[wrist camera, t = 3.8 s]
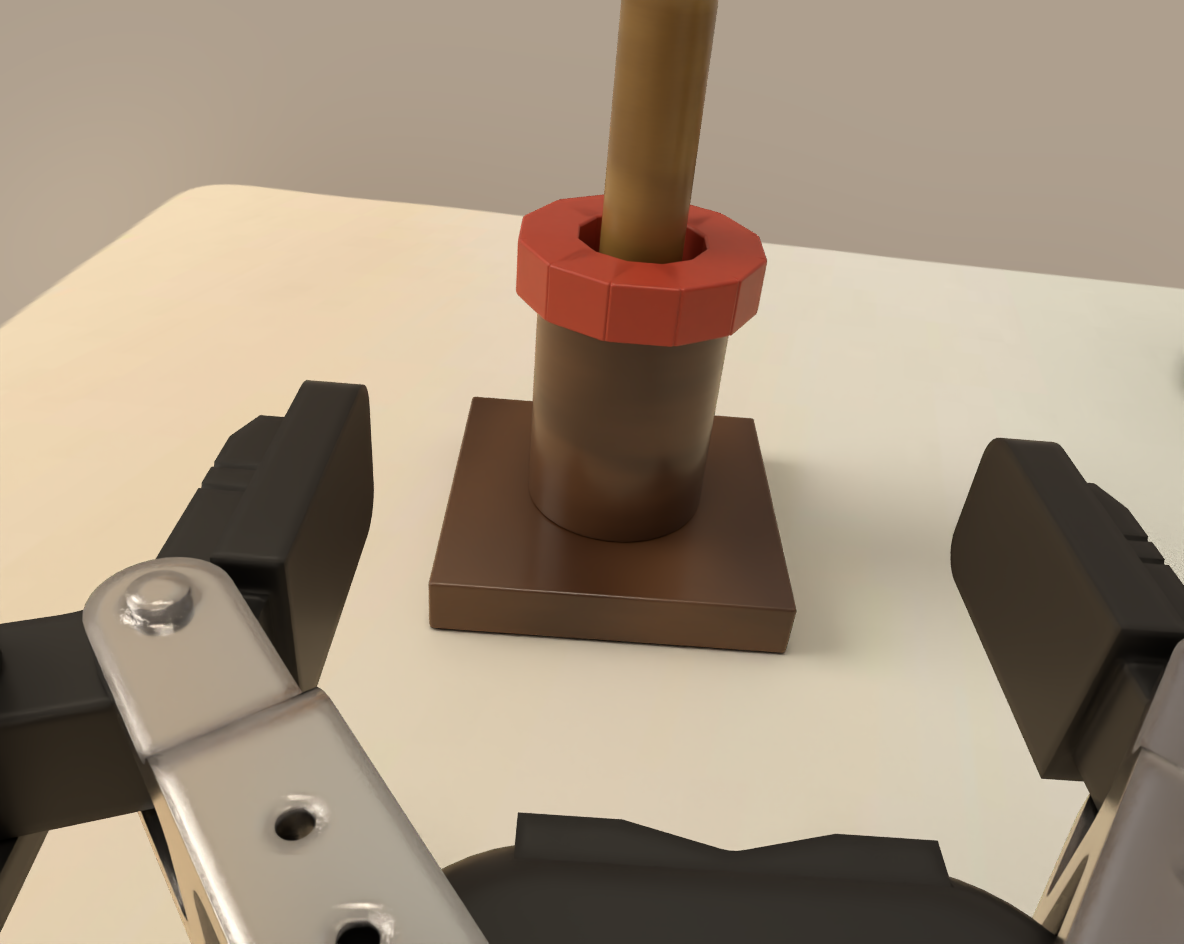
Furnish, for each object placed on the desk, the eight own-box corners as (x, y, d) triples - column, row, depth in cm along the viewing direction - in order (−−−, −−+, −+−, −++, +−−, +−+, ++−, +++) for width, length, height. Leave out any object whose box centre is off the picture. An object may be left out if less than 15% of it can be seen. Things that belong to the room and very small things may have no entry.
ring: (740, 255, 26) (750, 204, 26) (769, 356, 22) (781, 298, 21) (527, 237, 26) (529, 186, 25) (507, 335, 21) (509, 275, 21)
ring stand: (746, 456, 32) (851, -60, 24) (786, 654, 25) (960, 6, 16) (471, 435, 32) (478, -95, 23) (428, 629, 24) (414, -44, 16)
